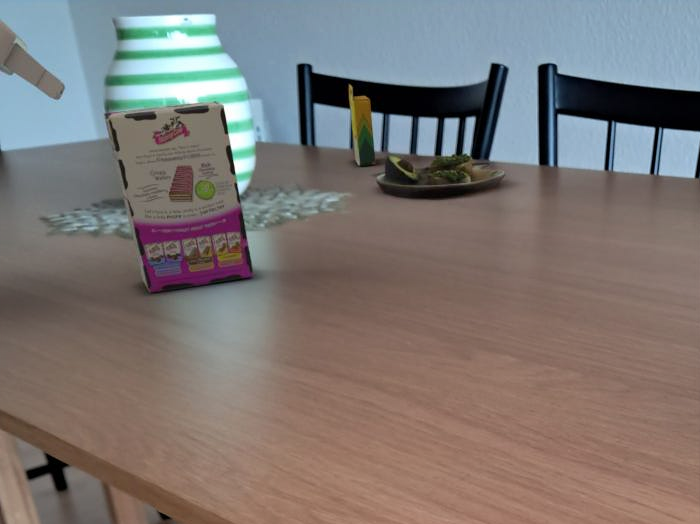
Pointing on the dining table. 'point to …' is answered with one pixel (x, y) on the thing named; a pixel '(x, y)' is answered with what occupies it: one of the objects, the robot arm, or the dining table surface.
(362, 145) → the crayon box
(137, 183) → the candy bar box
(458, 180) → the salad plate
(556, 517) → the dining table surface
